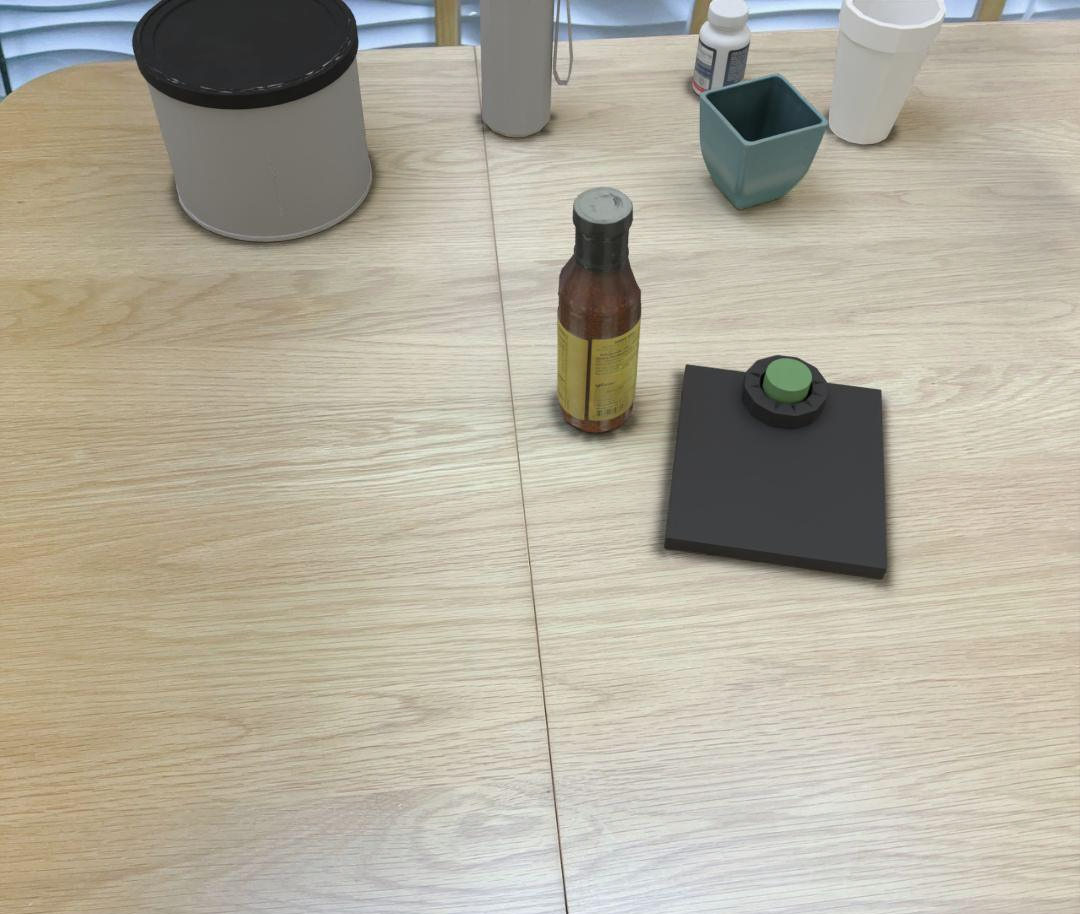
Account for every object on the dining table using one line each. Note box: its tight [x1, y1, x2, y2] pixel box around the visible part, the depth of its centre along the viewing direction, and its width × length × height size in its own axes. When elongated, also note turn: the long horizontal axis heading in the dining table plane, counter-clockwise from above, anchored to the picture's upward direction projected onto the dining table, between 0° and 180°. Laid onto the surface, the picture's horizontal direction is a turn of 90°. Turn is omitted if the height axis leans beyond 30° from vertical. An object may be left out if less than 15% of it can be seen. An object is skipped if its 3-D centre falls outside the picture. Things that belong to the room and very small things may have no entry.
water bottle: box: [479, 0, 574, 138], centre depth 102 cm, size 9×8×25 cm
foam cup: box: [828, 0, 947, 145], centre depth 108 cm, size 10×9×13 cm
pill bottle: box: [692, 0, 752, 96], centre depth 113 cm, size 5×5×9 cm
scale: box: [663, 354, 888, 580], centre depth 84 cm, size 16×19×3 cm
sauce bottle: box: [556, 186, 642, 434], centre depth 81 cm, size 6×6×20 cm
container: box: [131, 0, 373, 243], centre depth 99 cm, size 19×19×15 cm
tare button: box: [763, 358, 812, 404], centre depth 86 cm, size 4×4×2 cm
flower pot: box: [699, 72, 829, 210], centre depth 102 cm, size 9×9×9 cm
